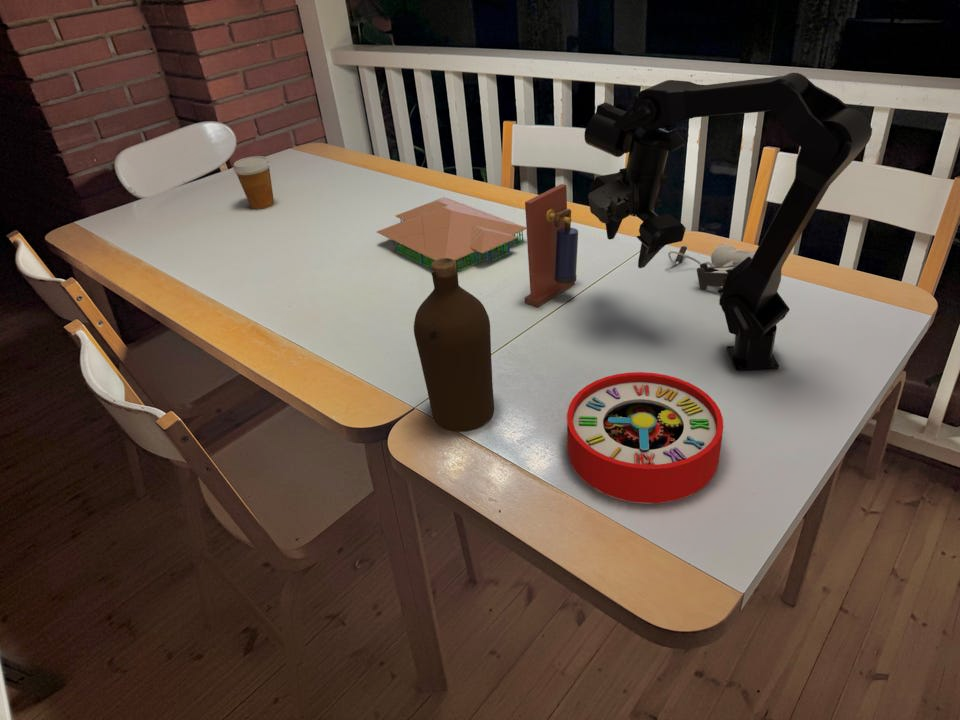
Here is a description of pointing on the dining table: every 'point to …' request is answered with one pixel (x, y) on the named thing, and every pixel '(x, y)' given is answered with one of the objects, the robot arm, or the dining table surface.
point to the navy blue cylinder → (565, 250)
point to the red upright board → (544, 244)
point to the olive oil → (455, 352)
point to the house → (451, 232)
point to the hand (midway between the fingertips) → (625, 252)
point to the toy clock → (644, 437)
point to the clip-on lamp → (715, 264)
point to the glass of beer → (255, 180)
